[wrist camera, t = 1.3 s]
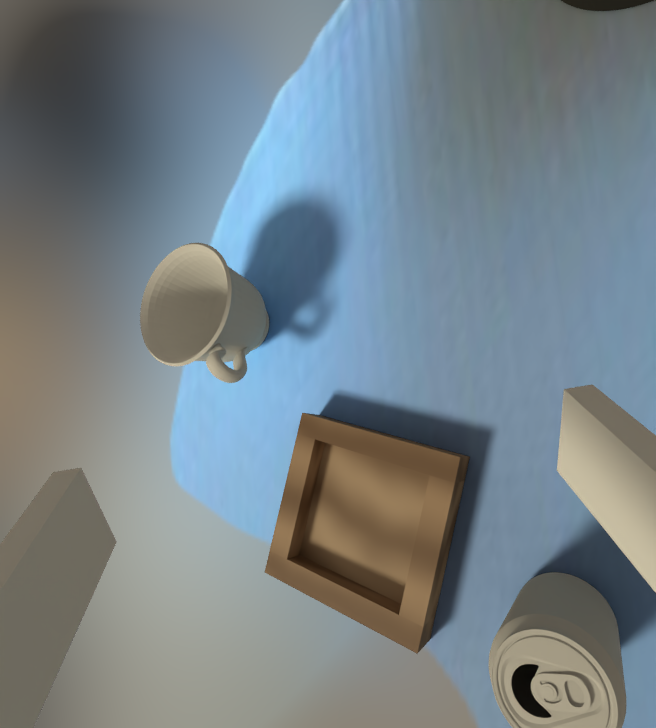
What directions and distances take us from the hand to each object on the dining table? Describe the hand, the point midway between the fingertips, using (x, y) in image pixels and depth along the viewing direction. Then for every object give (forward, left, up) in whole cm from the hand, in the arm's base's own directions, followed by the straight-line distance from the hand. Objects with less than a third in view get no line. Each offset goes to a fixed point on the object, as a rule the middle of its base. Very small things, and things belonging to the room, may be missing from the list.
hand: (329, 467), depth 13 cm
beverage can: (+10, +6, -28) cm, 31 cm away
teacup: (-6, -28, -28) cm, 40 cm away
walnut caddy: (+8, -10, -28) cm, 31 cm away
